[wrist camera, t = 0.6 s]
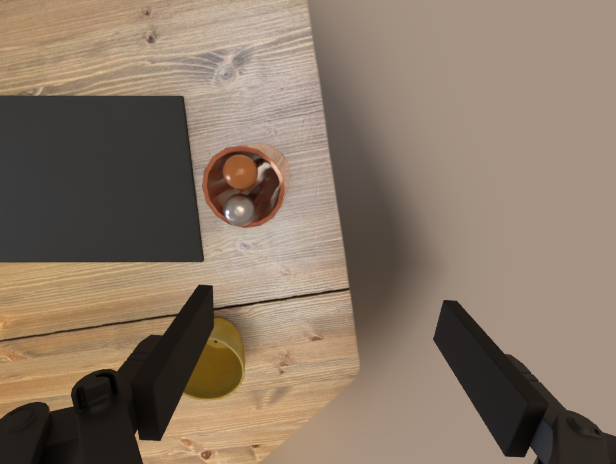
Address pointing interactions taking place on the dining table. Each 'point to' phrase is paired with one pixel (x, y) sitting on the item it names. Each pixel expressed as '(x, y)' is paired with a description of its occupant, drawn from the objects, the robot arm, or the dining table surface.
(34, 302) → the dining table surface
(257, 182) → the spoon cup
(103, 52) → the dining table surface
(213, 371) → the flower pot
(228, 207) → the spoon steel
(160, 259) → the mat
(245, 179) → the brown piece
